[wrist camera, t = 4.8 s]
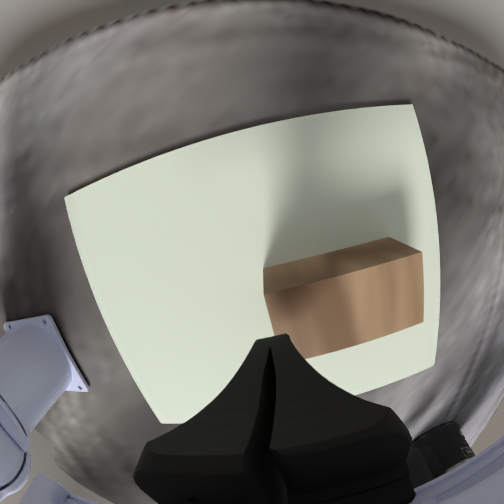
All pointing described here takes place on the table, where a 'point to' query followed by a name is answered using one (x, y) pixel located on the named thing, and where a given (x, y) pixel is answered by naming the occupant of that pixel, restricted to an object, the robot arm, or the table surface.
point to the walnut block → (346, 296)
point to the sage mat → (253, 246)
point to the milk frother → (437, 454)
